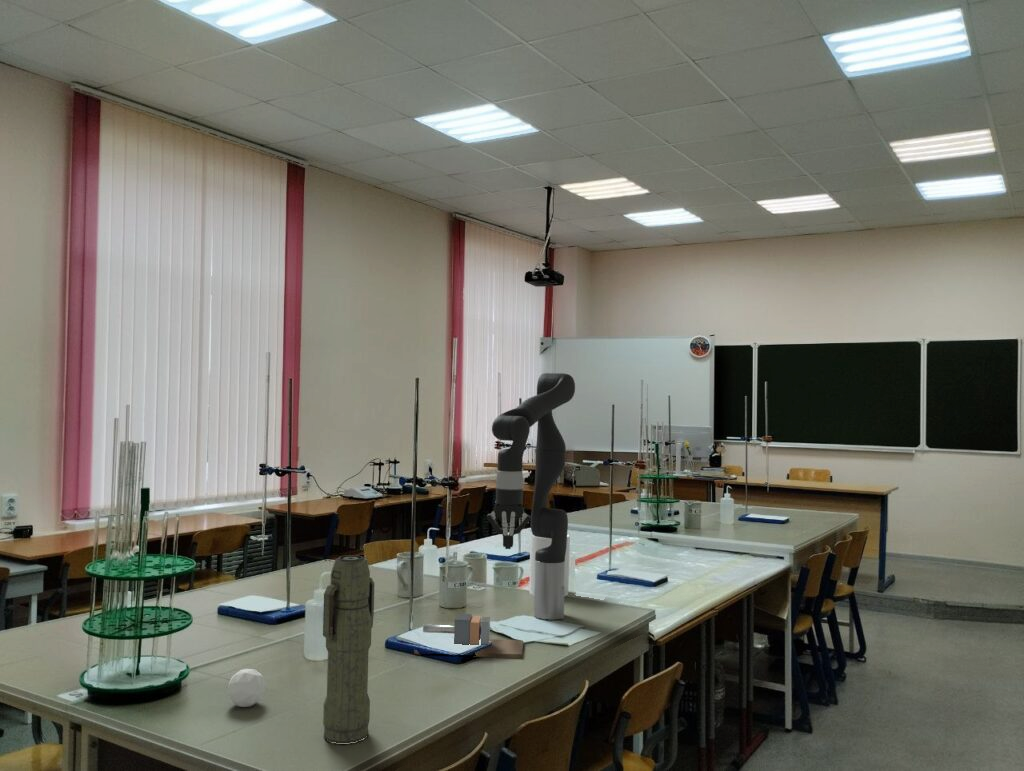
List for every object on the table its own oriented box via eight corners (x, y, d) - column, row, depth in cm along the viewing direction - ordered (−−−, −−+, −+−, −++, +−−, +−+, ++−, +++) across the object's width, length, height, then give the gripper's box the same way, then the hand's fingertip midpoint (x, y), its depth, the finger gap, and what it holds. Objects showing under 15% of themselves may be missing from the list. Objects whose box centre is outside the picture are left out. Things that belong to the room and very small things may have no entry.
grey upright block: (471, 641, 217) (471, 614, 218) (469, 648, 211) (469, 620, 212) (456, 641, 218) (457, 613, 218) (453, 648, 212) (454, 619, 212)
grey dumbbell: (489, 639, 217) (490, 617, 217) (488, 645, 212) (488, 622, 212) (424, 636, 218) (425, 614, 218) (421, 642, 213) (422, 619, 213)
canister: (543, 586, 288) (544, 530, 288) (575, 592, 280) (576, 534, 280) (521, 593, 277) (523, 535, 277) (554, 599, 269) (556, 539, 269)
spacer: (480, 638, 217) (481, 616, 217) (478, 645, 211) (479, 622, 211) (471, 637, 217) (472, 615, 217) (469, 645, 211) (470, 622, 211)
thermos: (307, 741, 155) (312, 559, 156) (348, 720, 166) (353, 550, 166) (342, 752, 151) (347, 565, 152) (382, 730, 161) (387, 555, 162)
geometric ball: (255, 718, 172) (273, 692, 170) (219, 711, 168) (237, 685, 166) (254, 690, 179) (271, 665, 177) (220, 682, 175) (237, 657, 173)
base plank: (523, 644, 220) (523, 640, 220) (521, 658, 208) (521, 654, 208) (421, 640, 221) (421, 636, 221) (414, 654, 209) (414, 650, 209)
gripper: (484, 487, 222) (483, 550, 222) (532, 489, 222) (531, 551, 221) (487, 484, 230) (485, 545, 229) (533, 486, 229) (531, 546, 229)
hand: (508, 548), depth 225 cm, fingers closed
